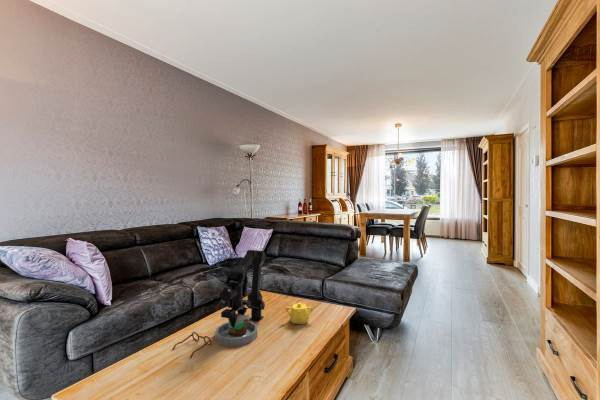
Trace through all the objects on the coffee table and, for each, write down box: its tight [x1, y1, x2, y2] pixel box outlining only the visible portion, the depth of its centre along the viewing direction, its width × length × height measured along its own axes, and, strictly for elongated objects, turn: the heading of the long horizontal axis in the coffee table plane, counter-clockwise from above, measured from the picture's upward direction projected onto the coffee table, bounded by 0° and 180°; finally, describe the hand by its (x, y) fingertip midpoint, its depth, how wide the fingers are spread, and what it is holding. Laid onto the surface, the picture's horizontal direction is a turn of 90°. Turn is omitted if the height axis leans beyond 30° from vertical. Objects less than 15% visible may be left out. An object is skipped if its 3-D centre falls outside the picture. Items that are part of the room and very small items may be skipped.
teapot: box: [285, 301, 314, 325], centre depth 168 cm, size 14×13×10 cm
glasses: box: [171, 331, 212, 359], centre depth 139 cm, size 13×13×5 cm
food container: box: [227, 313, 250, 336], centre depth 151 cm, size 12×6×10 cm, turn 68°
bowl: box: [214, 320, 258, 347], centre depth 151 cm, size 21×21×4 cm
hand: (236, 325), depth 151 cm, fingers closed on food container, 5 cm apart
